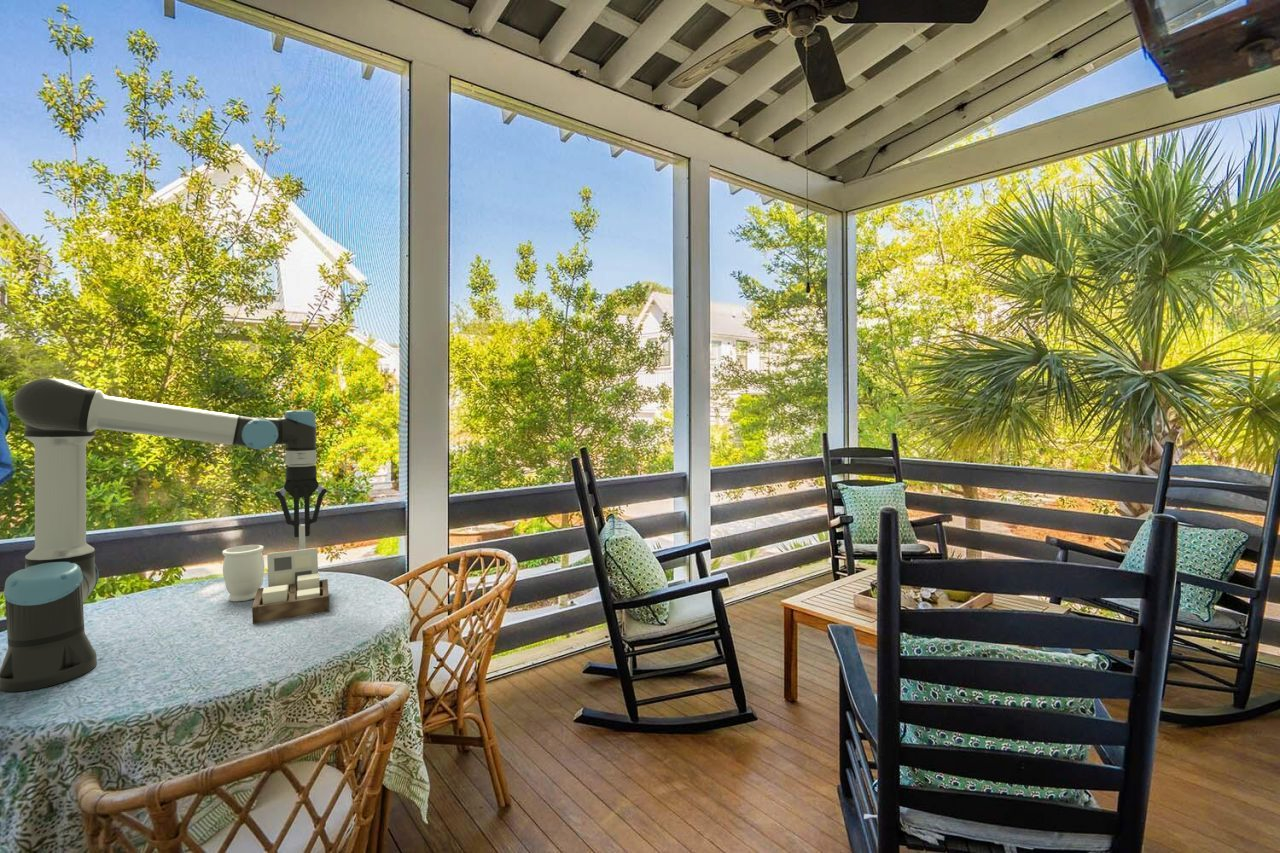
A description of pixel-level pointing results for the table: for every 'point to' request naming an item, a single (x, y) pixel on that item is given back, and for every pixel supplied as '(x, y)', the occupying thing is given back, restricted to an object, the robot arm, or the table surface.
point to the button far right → (308, 581)
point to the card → (291, 566)
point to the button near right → (308, 593)
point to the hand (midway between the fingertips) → (302, 547)
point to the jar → (243, 571)
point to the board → (290, 605)
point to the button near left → (275, 594)
